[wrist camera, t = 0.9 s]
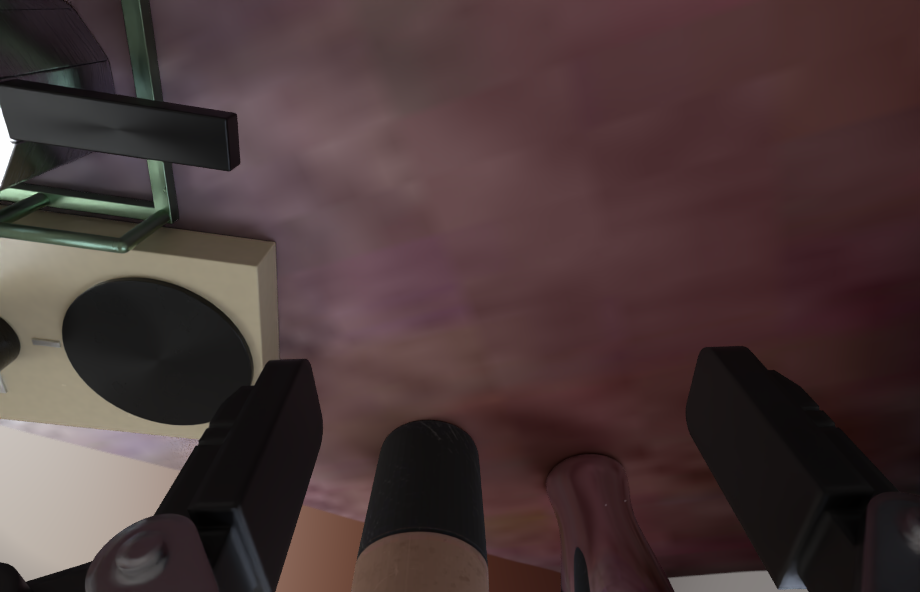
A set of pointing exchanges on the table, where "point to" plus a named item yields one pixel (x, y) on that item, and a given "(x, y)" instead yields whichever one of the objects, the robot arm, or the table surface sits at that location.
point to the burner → (156, 350)
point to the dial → (8, 344)
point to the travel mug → (424, 515)
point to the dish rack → (151, 212)
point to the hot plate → (76, 269)
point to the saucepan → (87, 103)
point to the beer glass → (600, 529)
